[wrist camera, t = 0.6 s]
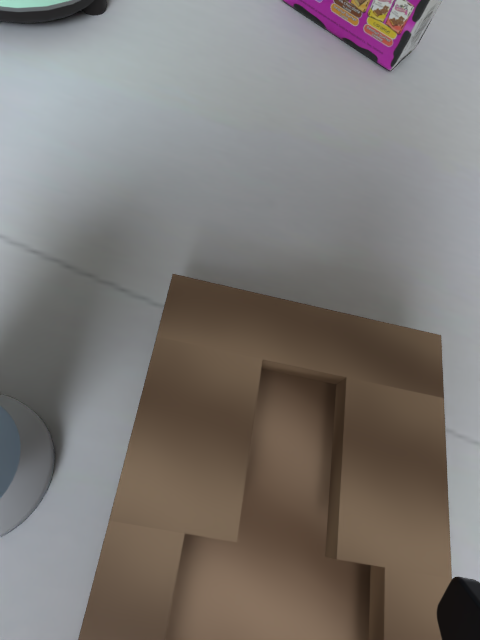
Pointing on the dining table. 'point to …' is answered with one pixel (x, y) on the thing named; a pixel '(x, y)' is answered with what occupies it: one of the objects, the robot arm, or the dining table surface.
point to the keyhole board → (278, 479)
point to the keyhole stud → (22, 462)
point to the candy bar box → (373, 24)
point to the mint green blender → (46, 9)
